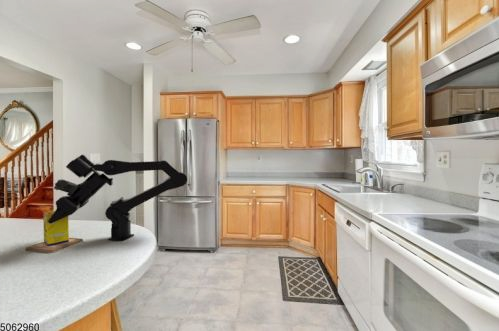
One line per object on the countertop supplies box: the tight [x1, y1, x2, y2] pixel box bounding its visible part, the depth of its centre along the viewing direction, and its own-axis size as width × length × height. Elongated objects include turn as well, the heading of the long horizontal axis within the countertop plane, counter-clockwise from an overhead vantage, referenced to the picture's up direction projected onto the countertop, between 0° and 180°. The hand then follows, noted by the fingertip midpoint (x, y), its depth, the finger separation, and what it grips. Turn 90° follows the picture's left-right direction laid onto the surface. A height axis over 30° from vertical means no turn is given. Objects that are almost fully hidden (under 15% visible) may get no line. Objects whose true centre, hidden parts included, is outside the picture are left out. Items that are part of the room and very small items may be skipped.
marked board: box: [25, 237, 84, 254], centre depth 83 cm, size 11×11×1 cm
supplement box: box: [42, 209, 70, 246], centre depth 83 cm, size 6×6×11 cm
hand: (54, 219), depth 83 cm, fingers open, 9 cm apart
